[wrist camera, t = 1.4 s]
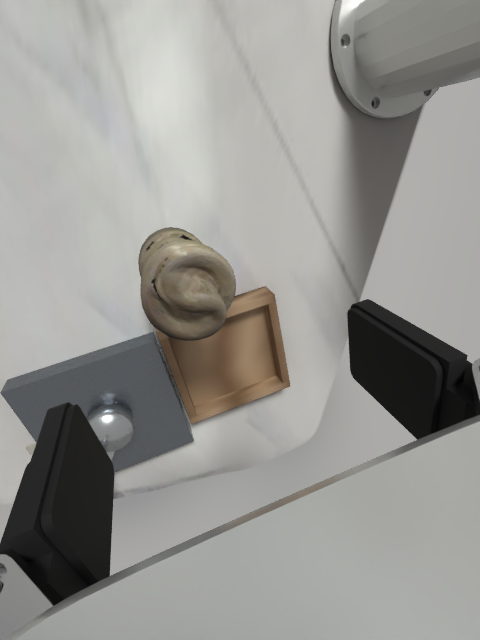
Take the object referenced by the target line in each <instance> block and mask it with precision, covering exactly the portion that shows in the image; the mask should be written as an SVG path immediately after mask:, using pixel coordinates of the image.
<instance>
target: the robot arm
mask: <svg viewBox="0 0 480 640" xmlns="http://www.w3.org/2000/svg"><path fill="white" fill-rule="evenodd" d="M341 43H342V45H341ZM331 52H332V58H333V64H334V69H335V72H336V75H337V78H338V81H339V84H340V86H341V87H342V89H343V91H344V93H345V95H346V96H347V98H348V99H349V100H350V101H351V102H352V104H353V105H354V106H355V107H357V108H358V109H359V110H360V111H362V112H363V113H365V114H367V115H370V116H372V117H376V118H383V119H385V118H394V117H399V116H403V115H406V114H408V113H410V112H412V111H414V110H416V109H418V108H419V107H421V106H422V105H423V104H424V103H426V102H427V101H428V100H429V99H430V98H431V97H432V96H433V95H434V93H435V92H436V91H437V90H438V89H439V87H443V86H447V85H451V84H455V83H459V82H463V81H467V80H472V79H476V78H479V77H480V0H336V2H335V6H334V10H333V16H332V26H331ZM347 315H348V334H349V353H350V370H351V374H352V376H353V378H354V379H355V380H356V381H357V382H358V383H359V384H360V385H361V386H362V387H363V388H364V389H365V390H366V391H367V392H368V393H369V394H371V395H372V396H373V397H374V398H375V399H376V400H377V401H378V402H379V403H380V404H381V405H382V406H383V407H384V408H385V409H386V410H387V411H388V412H389V413H390V414H391V415H392V416H394V418H396V419H397V420H398V421H399V422H400V423H401V424H402V425H403V426H404V427H405V428H406V429H407V430H408V431H409V432H410V433H411V434H412V435H413V436H414V437H415V438H416V439H417V440H416V441H414V442H412V443H409V444H407V445H405V446H402V447H400V448H398V449H396V450H393V451H391V452H388V453H386V454H384V455H381V456H379V457H377V458H375V459H372V460H370V461H368V462H365V463H363V464H361V465H358V466H356V467H354V468H351V469H349V470H347V471H344V472H342V473H340V474H338V475H335V476H333V477H331V478H329V479H326V480H324V481H322V482H319V483H317V484H315V485H313V486H311V487H308V488H305V489H303V490H301V491H299V492H296V493H294V494H292V495H290V496H287V497H285V498H283V499H280V500H278V501H276V502H274V503H271V504H269V505H267V506H265V507H262V508H260V509H258V510H255V511H253V512H251V513H249V514H247V515H244V516H242V517H240V518H237V519H235V520H233V521H231V522H228V523H226V524H224V525H222V526H219V527H217V528H215V529H213V530H210V531H208V532H206V533H204V534H202V535H199V536H197V537H195V538H192V539H190V540H188V541H186V542H183V543H181V544H179V545H177V546H175V547H172V548H170V549H168V550H166V551H163V552H161V553H159V554H157V555H155V556H152V557H151V558H148V559H146V560H144V561H142V562H140V563H137V564H135V565H133V566H131V567H129V568H127V569H124V570H122V571H120V572H118V573H116V574H114V575H111V576H110V554H111V533H112V510H113V490H114V467H113V463H112V461H111V459H110V458H109V456H108V454H107V452H106V451H105V449H104V447H103V446H102V444H101V442H100V440H99V439H98V437H97V435H96V434H95V432H94V430H93V429H92V427H91V425H90V423H89V422H88V420H87V418H86V417H85V415H84V413H83V411H82V410H81V408H80V407H79V405H77V404H76V405H72V404H71V403H69V402H67V403H64V404H61V405H58V406H55V407H53V408H50V409H48V411H47V413H46V416H45V419H44V422H43V425H42V428H41V431H40V434H39V437H38V440H37V443H36V446H35V449H34V452H33V455H32V458H31V462H30V463H29V464H28V465H27V467H26V469H25V471H24V474H23V477H22V480H21V483H20V486H19V489H18V492H17V495H16V498H15V501H14V504H13V507H12V510H11V513H10V516H9V519H8V522H7V525H6V528H5V531H4V534H3V537H2V540H1V543H0V640H480V359H478V360H476V361H475V362H474V363H473V364H472V363H470V362H468V361H467V355H466V354H464V353H462V352H461V351H459V350H457V349H455V348H454V347H452V346H450V345H448V344H447V343H445V342H443V341H441V340H440V339H438V338H436V337H434V336H433V335H431V334H429V333H427V332H426V331H424V330H422V329H420V328H418V327H416V326H415V325H413V324H411V323H410V322H408V321H406V320H404V319H403V318H401V317H399V316H397V315H396V314H393V313H392V312H390V311H389V310H387V309H385V308H383V307H381V306H380V305H378V304H376V303H375V302H373V301H371V300H368V299H367V300H364V301H361V302H358V303H355V304H353V305H352V306H351V309H350V310H348V314H347Z"/></svg>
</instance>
